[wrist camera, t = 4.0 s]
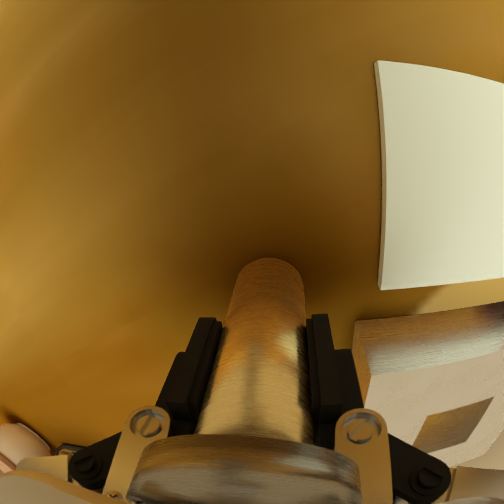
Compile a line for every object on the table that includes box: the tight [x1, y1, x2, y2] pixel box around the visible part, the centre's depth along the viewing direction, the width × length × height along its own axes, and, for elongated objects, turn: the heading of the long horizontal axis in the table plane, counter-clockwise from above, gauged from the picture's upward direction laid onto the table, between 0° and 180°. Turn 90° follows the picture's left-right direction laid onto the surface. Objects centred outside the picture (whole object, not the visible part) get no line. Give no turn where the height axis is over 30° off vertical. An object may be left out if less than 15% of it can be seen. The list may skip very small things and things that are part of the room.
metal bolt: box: [126, 258, 363, 504], centre depth 9 cm, size 5×5×10 cm
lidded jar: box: [0, 422, 51, 473], centre depth 23 cm, size 11×11×9 cm
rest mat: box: [374, 60, 504, 290], centre depth 11 cm, size 10×10×1 cm
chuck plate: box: [352, 301, 504, 467], centre depth 14 cm, size 12×12×4 cm
